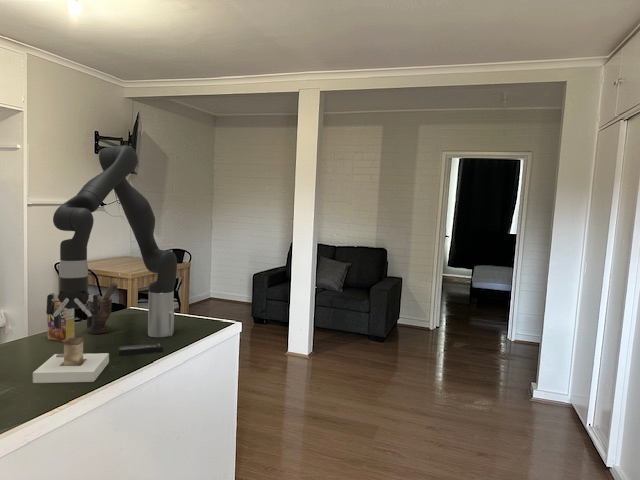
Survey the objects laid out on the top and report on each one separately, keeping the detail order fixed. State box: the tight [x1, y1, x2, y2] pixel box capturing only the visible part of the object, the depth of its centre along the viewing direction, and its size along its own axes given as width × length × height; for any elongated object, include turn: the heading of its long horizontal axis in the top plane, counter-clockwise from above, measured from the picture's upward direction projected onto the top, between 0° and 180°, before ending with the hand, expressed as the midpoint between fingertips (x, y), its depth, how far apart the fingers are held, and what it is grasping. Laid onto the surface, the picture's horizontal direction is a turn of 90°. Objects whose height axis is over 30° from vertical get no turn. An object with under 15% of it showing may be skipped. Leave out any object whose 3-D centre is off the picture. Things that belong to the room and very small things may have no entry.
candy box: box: [46, 298, 75, 343], centre depth 169 cm, size 9×4×15 cm, turn 72°
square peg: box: [63, 337, 84, 366], centre depth 139 cm, size 4×4×10 cm
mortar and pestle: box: [87, 282, 119, 335], centre depth 180 cm, size 12×9×20 cm
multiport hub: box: [117, 342, 164, 357], centre depth 160 cm, size 4×14×2 cm, turn 115°
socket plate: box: [32, 352, 110, 384], centre depth 139 cm, size 16×16×4 cm
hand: (74, 328), depth 138 cm, fingers open, 8 cm apart
